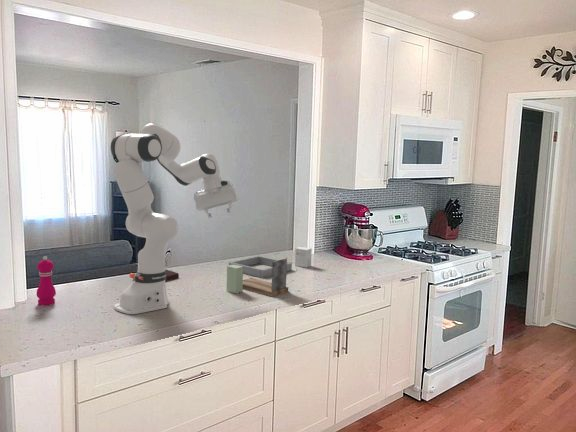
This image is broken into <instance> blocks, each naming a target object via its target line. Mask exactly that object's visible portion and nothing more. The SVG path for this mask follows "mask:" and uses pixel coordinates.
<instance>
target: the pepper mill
mask: <svg viewBox="0 0 576 432" xmlns="http://www.w3.org/2000/svg"><path fill="white" fill-rule="evenodd" d="M36 267H37V270H38V271H39V272H38V275H39V278H40V280H39V285H38V286H37V290H36V297H37V298H38V300H37V303H38V304H39V305H38V304H37V305H38V306H41V305H48V306H51V305H50V304H52V305H54V304H55V301H56V299H55V298H54V297H55V296H56V295H57V293H56V288H55V286H54V284H53V281H52V275H53V269H54V263H53V261H52V260H50V259H48V256H46V255H45V256H43V257H42V260H40V261H39V262H38V263H37V266H36Z"/></svg>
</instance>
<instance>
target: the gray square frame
mask: <svg viewBox="0 0 576 432" xmlns="http://www.w3.org/2000/svg"><path fill="white" fill-rule="evenodd" d="M277 260H278V259H275V258H270V257H266V256H261V255H256V256H251V257H247V258H243V259H242V258H241V259H238V260H234V261H229V262H228V266H230V265H238V266H242V267H243V275H244V274H246V275H247V276H248V275H249V276H253V277H257V278H262V279H264V278H267V277H272V262H273V261H277ZM257 264H260V265H265V266H269V267H268V268H262V269H261V268H257V267H252V265H257ZM292 265H293V263H292V262H289V261H287V272H290V271H292V269H293V268H292V267H293V266H292ZM289 270H290V271H289Z"/></svg>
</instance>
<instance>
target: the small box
mask: <svg viewBox="0 0 576 432" xmlns="http://www.w3.org/2000/svg"><path fill="white" fill-rule="evenodd" d="M294 251H295V252H294V266H295V267H301V268H306V269H307V268H309V267H311V266H312V248H311V247H304V246H303V247H302V246H298V247H295V249H294Z"/></svg>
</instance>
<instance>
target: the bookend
mask: <svg viewBox="0 0 576 432" xmlns="http://www.w3.org/2000/svg"><path fill="white" fill-rule="evenodd" d="M276 260H277V261H273V262H272V266H271V267H272V276H271V282H269V281H266V280H261V279H257V278H254V277H249V278H245V279H243V290H247V291H251V292H254V293H257V294H262V295H264V296H269V297H275V296H278V295H281V294H285V293H287V292H289V287H288V286H287V272H288V271H287V262H288V258H282V259H276Z"/></svg>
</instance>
